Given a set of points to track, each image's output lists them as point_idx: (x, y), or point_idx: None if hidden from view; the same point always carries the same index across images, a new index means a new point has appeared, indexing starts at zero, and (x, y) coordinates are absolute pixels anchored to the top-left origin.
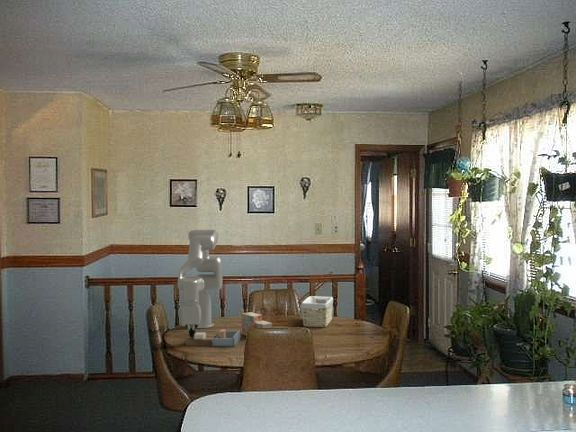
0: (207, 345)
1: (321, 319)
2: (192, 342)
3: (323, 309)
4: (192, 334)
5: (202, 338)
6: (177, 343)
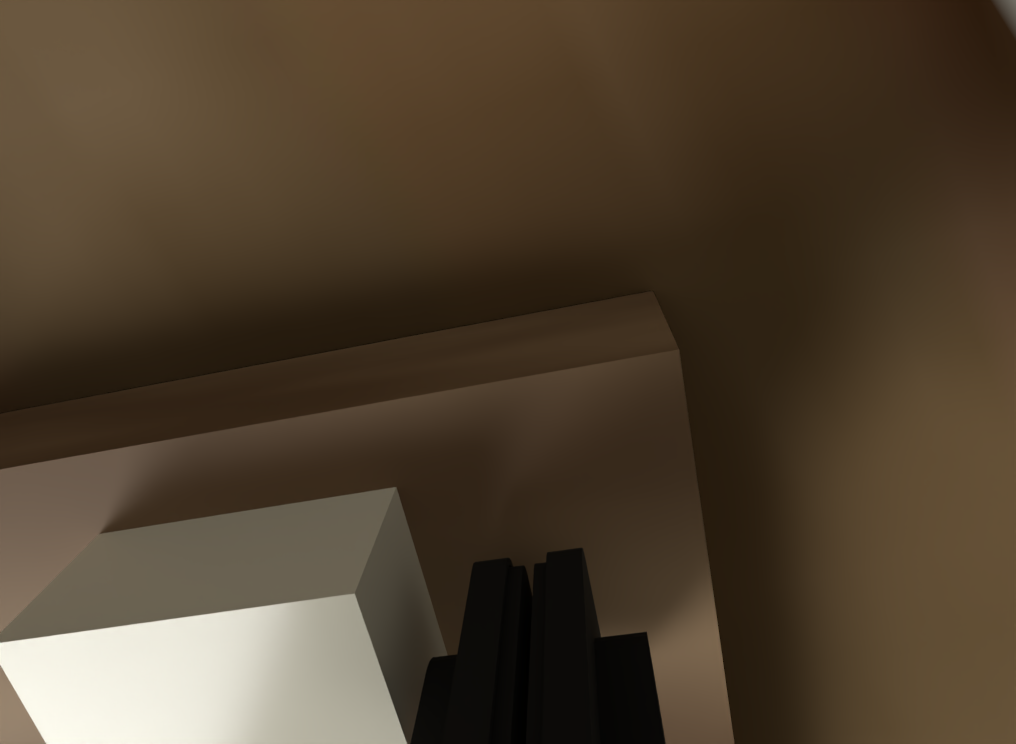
0: (38, 408)
1: None
2: (425, 362)
3: None
4: (466, 628)
5: (110, 545)
6: (978, 421)
